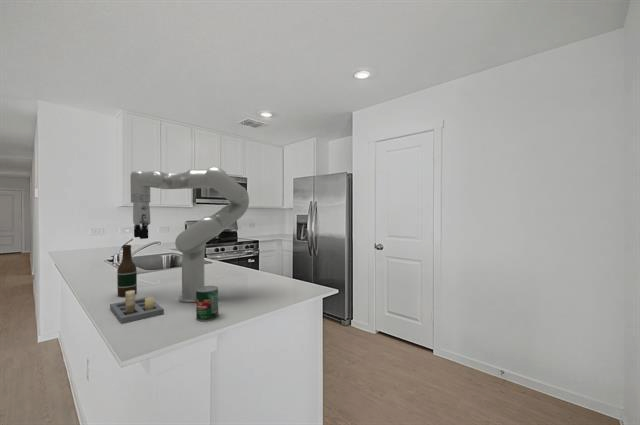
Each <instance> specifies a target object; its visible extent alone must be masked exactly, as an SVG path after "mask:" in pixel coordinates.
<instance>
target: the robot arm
mask: <svg viewBox="0 0 640 425" xmlns="http://www.w3.org/2000/svg"><path fill="white" fill-rule="evenodd" d="M151 188H153V189H160V190H183V189H184V190H185V189H188V190H189V189H213V190H215V191H216V192H218V194H220V195H221V196H222V197H223V198H225V199H226V200H227V201H228V202H229V203H228V204H226V205H225V206H223V207H222V208H221V209H220V210H217V211H216V212H215V213H213V214H212V215H208V216H203V217H202V218H201V219H199V220H197V221H196V222H194V223H193V224H192V225H190V226H189V227H187V228H186V229H184V230H183V231H182V232H180V233H179V234H178V235H177V236H176V237H175V241H174V242H175V243H174V245H175V248H176V249H177V251H179V252H180V253H181V295H180V296H178V299H177V300H178V302H180V303H187V304H188V303H196V289H197V288H200V287H204V286H205V251H206V243H207V242H208V243H209V241H211V240H212V239H214V238H215V237H217V236H219V235H220V234H221V233H222V232H224V231H225V230H226V229H228V228H229V227H230V226H231V225H233V224H234V223H235V222H237V221H238V220H239V219H241V218H242V217H243V216H244V214H245V213H246V212H247V210H248V208H249V205H250V197H249V196H250V195H249V192H248V191H247V189H246V188H245V187H244V186H242V185H241V184H240V183H238V182H237V181H235V180H234V179H233V178H232V177H231V176H229V175H228V173H227V172H226V171H225V170H224V169H222V168H220V167H218V166H213V167H210V168H208V169H189V170H187V171H185V172H177V173H176V172H175V173H174V172H173V173H172V172H171V173H169V172H168V173H166V172H162V171H160V170H151V171H140V170H137V171H136V170H135V171H132V172H130V203H133V205H132V221H133V225H134V226H133V237H134V238H139V239H140V240H143V239H146V240H147V239H149V225H151V210H150V203H151Z"/></svg>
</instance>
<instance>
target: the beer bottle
mask: <svg viewBox="0 0 640 425" xmlns="http://www.w3.org/2000/svg"><path fill="white" fill-rule="evenodd" d="M136 266H137V265H136V264H135V263H134V262H133V258H132V244H122V257H121V262H120V263H119V265H118V267H117V273H116V274H117V280H116V281H117V283H116V284H117V286H116V287H117V296H118V297H119V298H126V296H125V292H126V291H129V290H135V295H137V291H138V285H137V284H138V282H137V280H138V278H137V277H138V276H137V274H138V273H137V267H136Z"/></svg>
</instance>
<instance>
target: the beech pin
mask: <svg viewBox="0 0 640 425" xmlns="http://www.w3.org/2000/svg"><path fill="white" fill-rule="evenodd" d="M125 296H126V297H125V301H126V315H128V314H133V313H135V299H136V294H135V290H129V291H126V292H125Z"/></svg>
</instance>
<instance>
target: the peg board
mask: <svg viewBox="0 0 640 425" xmlns="http://www.w3.org/2000/svg"><path fill="white" fill-rule="evenodd" d="M109 309H110V311H111V312H112V314H113V315H114V316H115V317H116V319H117V320H118V322H120V324H121V325H122V324H127V323H132V322H135V321H140V320H143V319H144V320H146V319H149V318H152V317H157V316H162V315H164V314H165V310H164V307H162V306H160V305H159V304H158V303H157V302H155V298H154V296H147V297H140V298H135V313H133V314H128V315H126V300H125V301H120V302H119V301H118V302H114V303H109Z"/></svg>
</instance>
